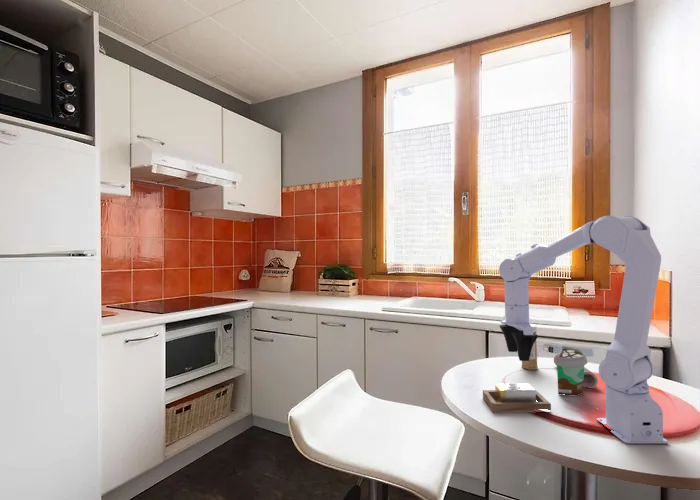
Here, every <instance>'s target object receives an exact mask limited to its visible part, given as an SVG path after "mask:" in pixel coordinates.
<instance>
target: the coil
mask: <svg viewBox="0 0 700 500" xmlns="http://www.w3.org/2000/svg"><path fill="white" fill-rule="evenodd" d="M560 353H561V352H559V353H557V354H555V355H554V357H553V363H554V364H555V366H556V367H557V357H559V356H560ZM598 384H599V381H598V376H597V375H596V374H595V373H594V372H592V371H591V370H589V369H588V368H587V367H585V366H584V379H583V388H585V387H587V388H586V389H588V388H593V389H595V388H596V387H597V386H598Z"/></svg>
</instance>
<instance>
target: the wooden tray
mask: <svg viewBox="0 0 700 500" xmlns="http://www.w3.org/2000/svg"><path fill="white" fill-rule="evenodd" d="M482 399H483V401H484V402H485V403H486V405H487V407H489V409H490V411H492V413H497V414H498V413H506V414H507V413H510V414H511V413H514V414H515V413H517V414H518V413H535V412H534V410H535V409H548V410H551V411H552V403H551V402H550V401H548V400H547V398H545V397H544V396H543V395H542V394H540V392H539V391H537V390H536V400H537V401H538V402H497V401H496V391H495V389H489V390H487V389H483V390H482Z"/></svg>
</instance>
